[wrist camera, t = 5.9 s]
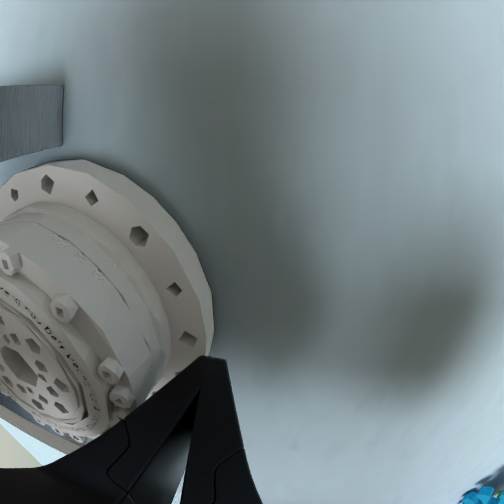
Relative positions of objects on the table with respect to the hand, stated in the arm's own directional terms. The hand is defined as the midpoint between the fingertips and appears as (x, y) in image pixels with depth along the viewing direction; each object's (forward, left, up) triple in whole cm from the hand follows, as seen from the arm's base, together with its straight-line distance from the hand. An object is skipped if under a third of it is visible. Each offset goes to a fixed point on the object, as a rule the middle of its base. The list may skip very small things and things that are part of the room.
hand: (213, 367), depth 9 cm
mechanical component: (+5, 0, -2) cm, 6 cm away
